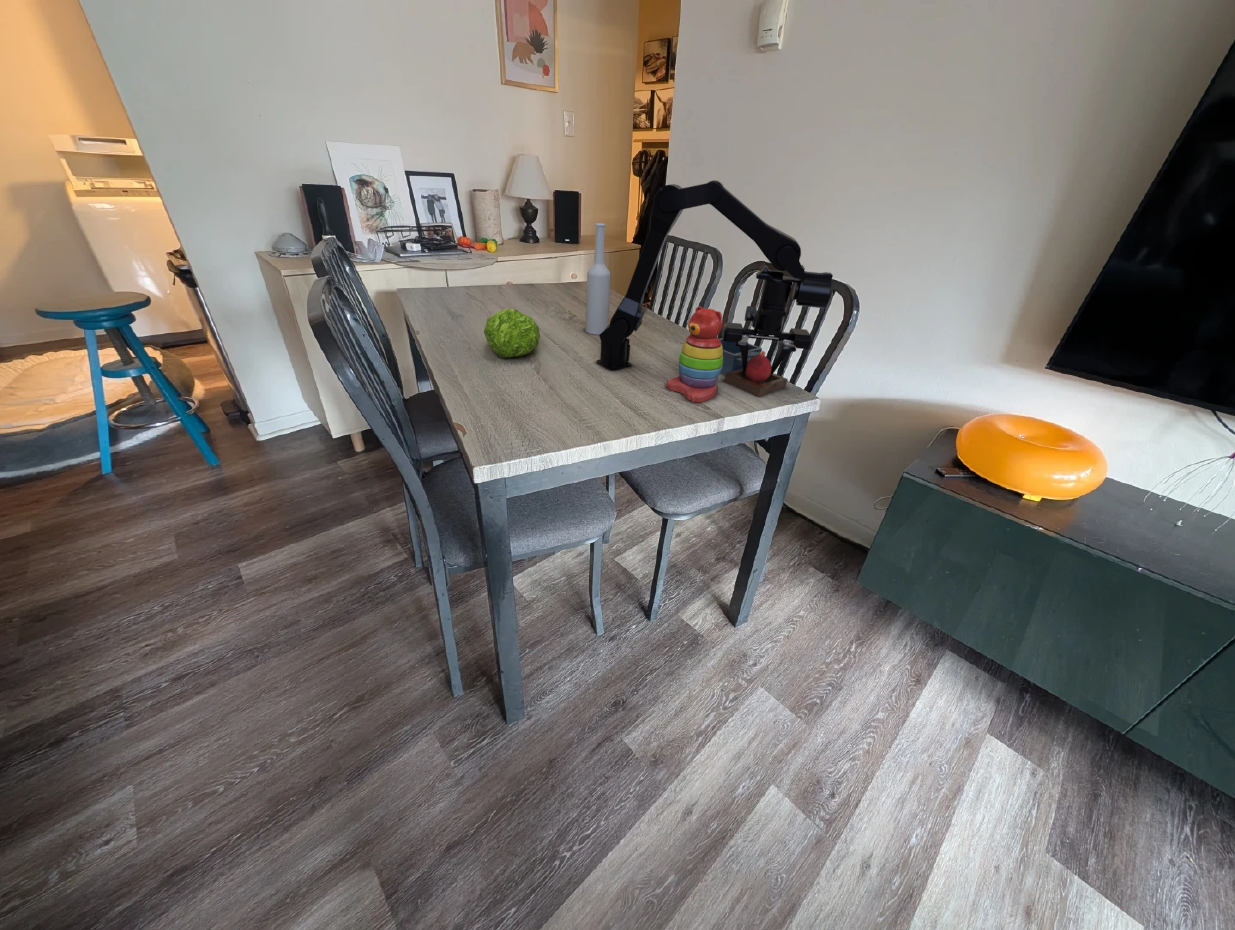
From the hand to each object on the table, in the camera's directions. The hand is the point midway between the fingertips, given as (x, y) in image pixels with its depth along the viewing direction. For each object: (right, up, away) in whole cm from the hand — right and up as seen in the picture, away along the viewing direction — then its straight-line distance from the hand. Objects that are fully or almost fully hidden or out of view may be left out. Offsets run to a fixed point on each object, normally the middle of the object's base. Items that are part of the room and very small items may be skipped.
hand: (757, 372), depth 108 cm
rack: (0, -3, +2) cm, 3 cm away
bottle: (-38, +18, +30) cm, 51 cm away
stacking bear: (-15, -5, -3) cm, 16 cm away
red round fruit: (0, -3, +2) cm, 3 cm away
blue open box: (-4, +4, +11) cm, 12 cm away
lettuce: (-60, +9, +14) cm, 62 cm away
